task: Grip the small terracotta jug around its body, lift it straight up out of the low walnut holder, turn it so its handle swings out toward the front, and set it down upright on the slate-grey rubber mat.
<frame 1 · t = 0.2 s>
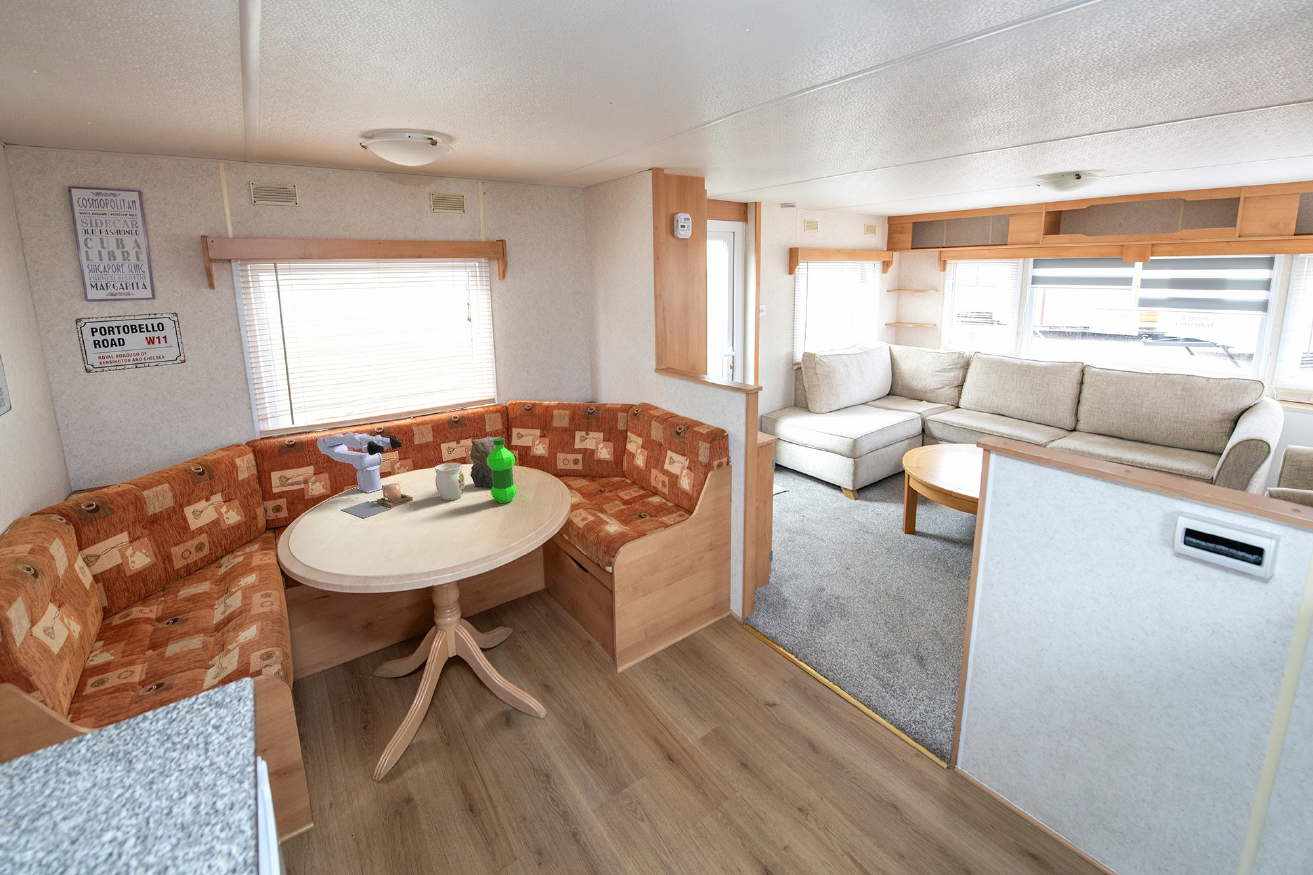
hand: (392, 447, 244), 21 cm above the table, tool horizontal, fingers open, 7 cm apart
plastic bottle: (504, 501, 242), on the table
holder: (395, 501, 244), on the table
mat: (366, 509, 236), on the table
owl: (491, 485, 261), on the table
pitcher: (452, 497, 248), on the table
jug: (395, 502, 244), resting in holder
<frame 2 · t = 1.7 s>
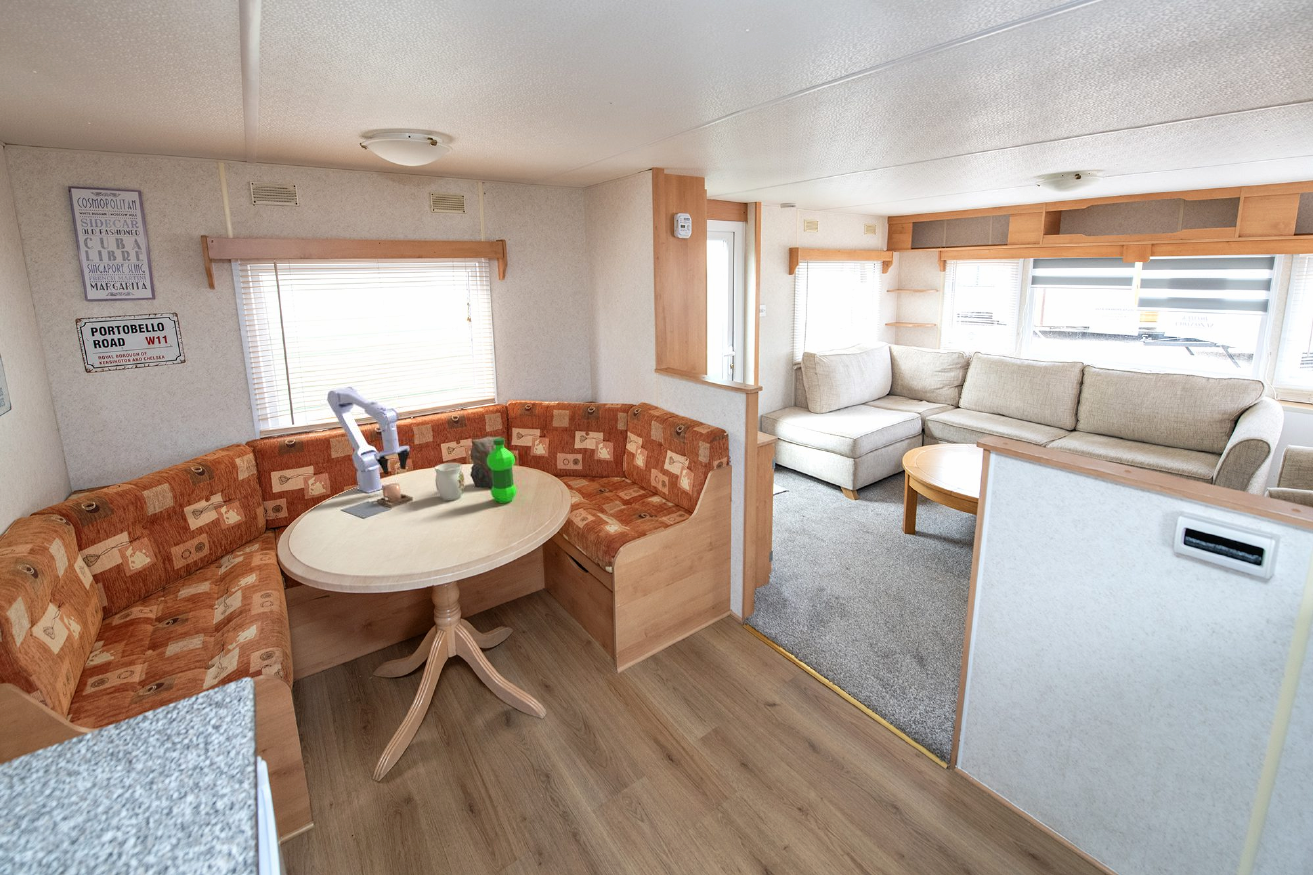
hand: (394, 471, 252), 9 cm above the table, tool pointing down, fingers open, 7 cm apart
nothing on the table moved.
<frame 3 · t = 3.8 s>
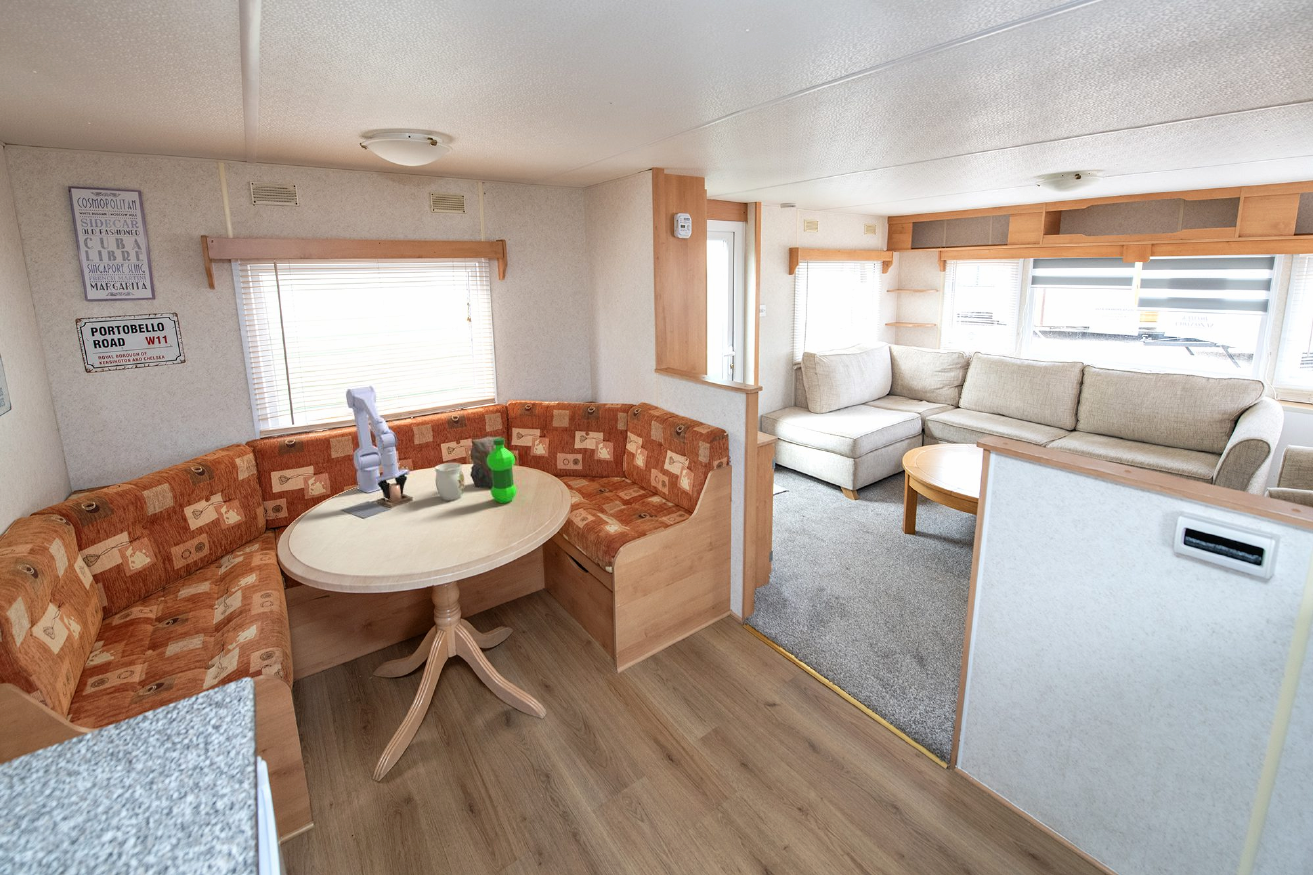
hand: (394, 496, 243), 2 cm above the table, tool pointing down, fingers closed on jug, 5 cm apart
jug: (395, 501, 244), resting in holder, touching gripper
everything else where it was.
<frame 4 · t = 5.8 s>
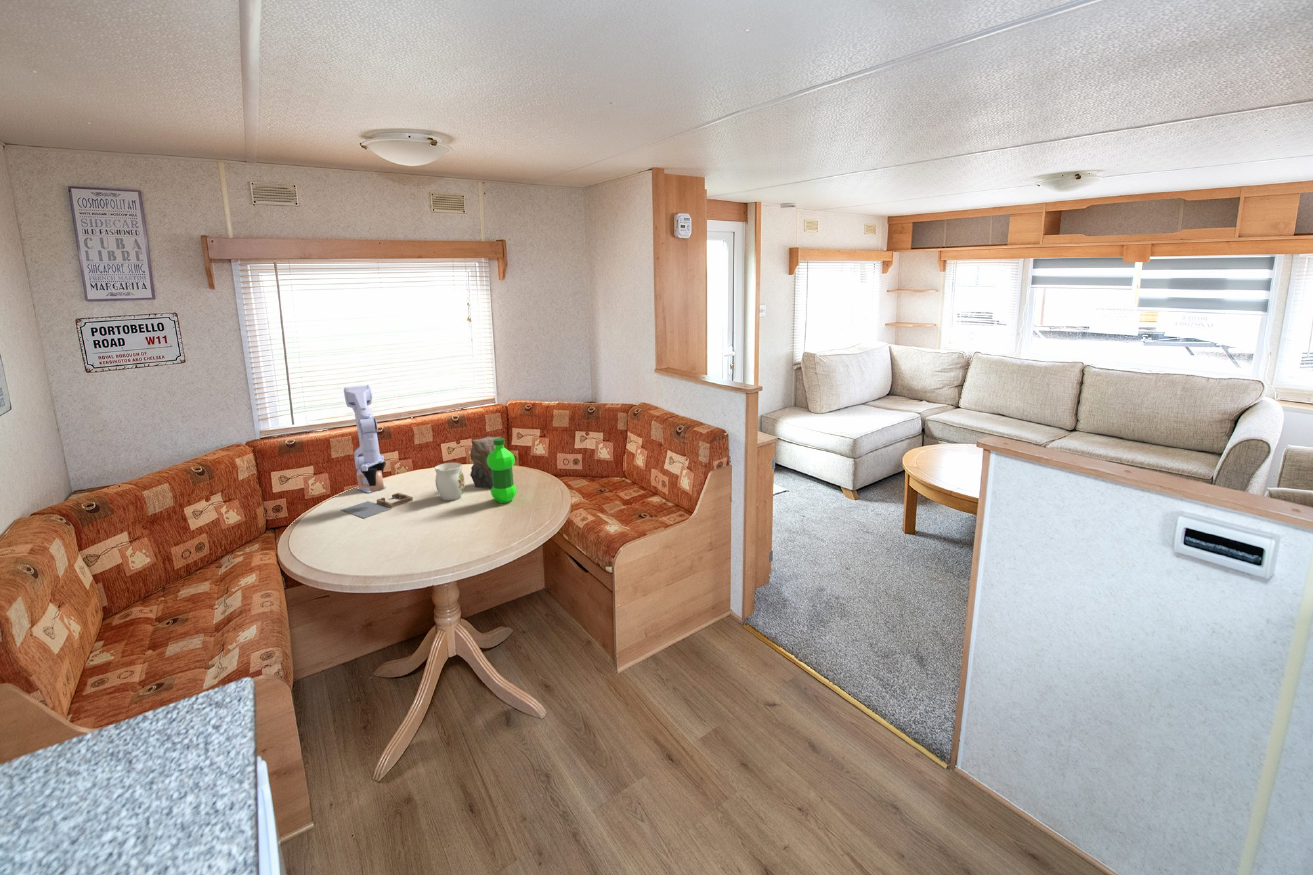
hand: (376, 483, 237), 9 cm above the table, tool pointing down, fingers closed on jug, 5 cm apart
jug: (377, 489, 238), point 7 cm above the table, touching gripper
everything else where it was.
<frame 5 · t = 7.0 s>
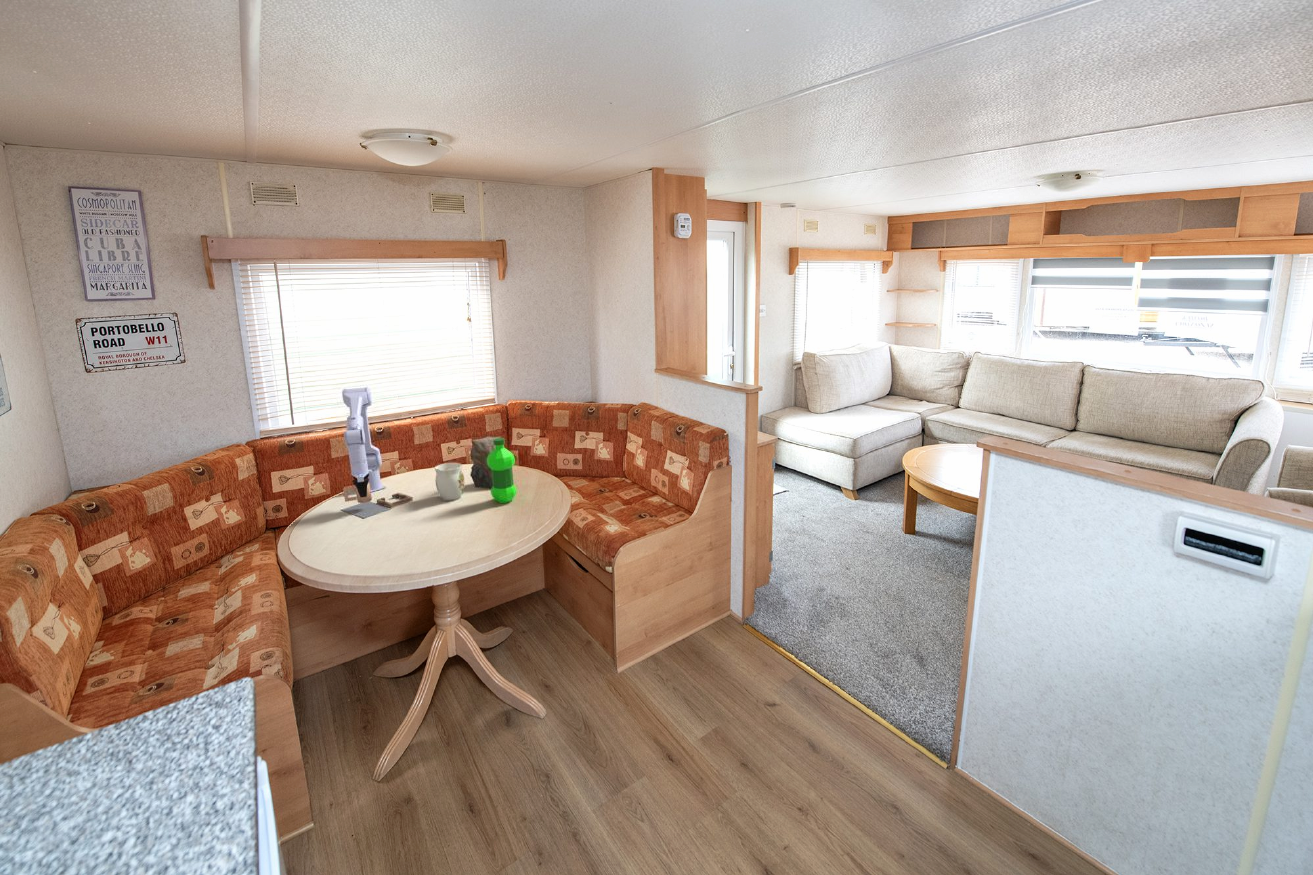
hand: (363, 494, 235), 6 cm above the table, tool pointing down, fingers closed on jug, 5 cm apart
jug: (364, 500, 235), point 4 cm above the table, touching gripper
everything else where it was.
when the fingers open (4 cm above the table, at t = 8.0 s): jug stays where it is, resting on mat.
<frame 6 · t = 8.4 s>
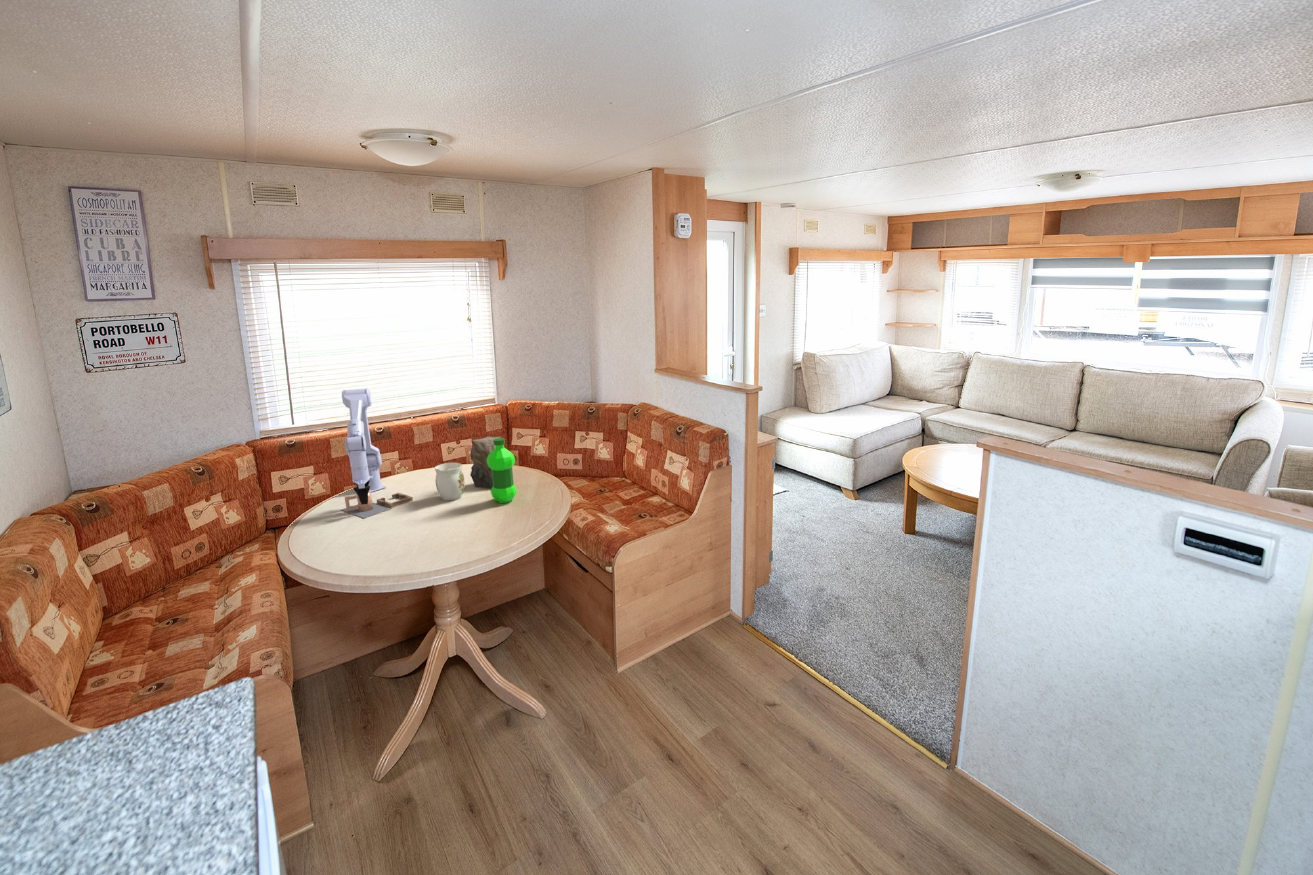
hand: (364, 500, 235), 4 cm above the table, tool pointing down, fingers open, 7 cm apart
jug: (366, 509, 236), resting on mat
everything else where it was.
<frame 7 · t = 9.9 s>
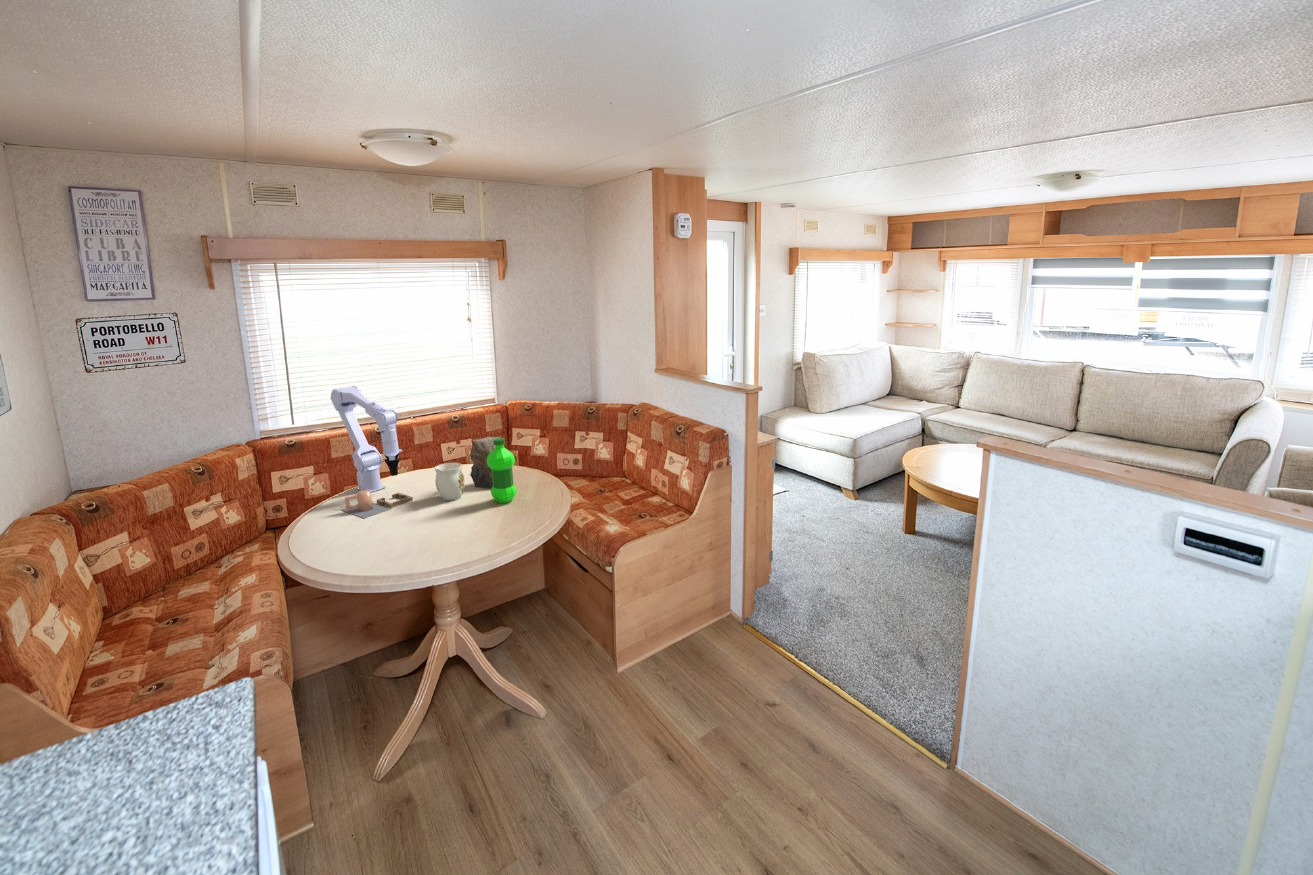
hand: (394, 472, 250), 9 cm above the table, tool pointing down, fingers open, 7 cm apart
nothing on the table moved.
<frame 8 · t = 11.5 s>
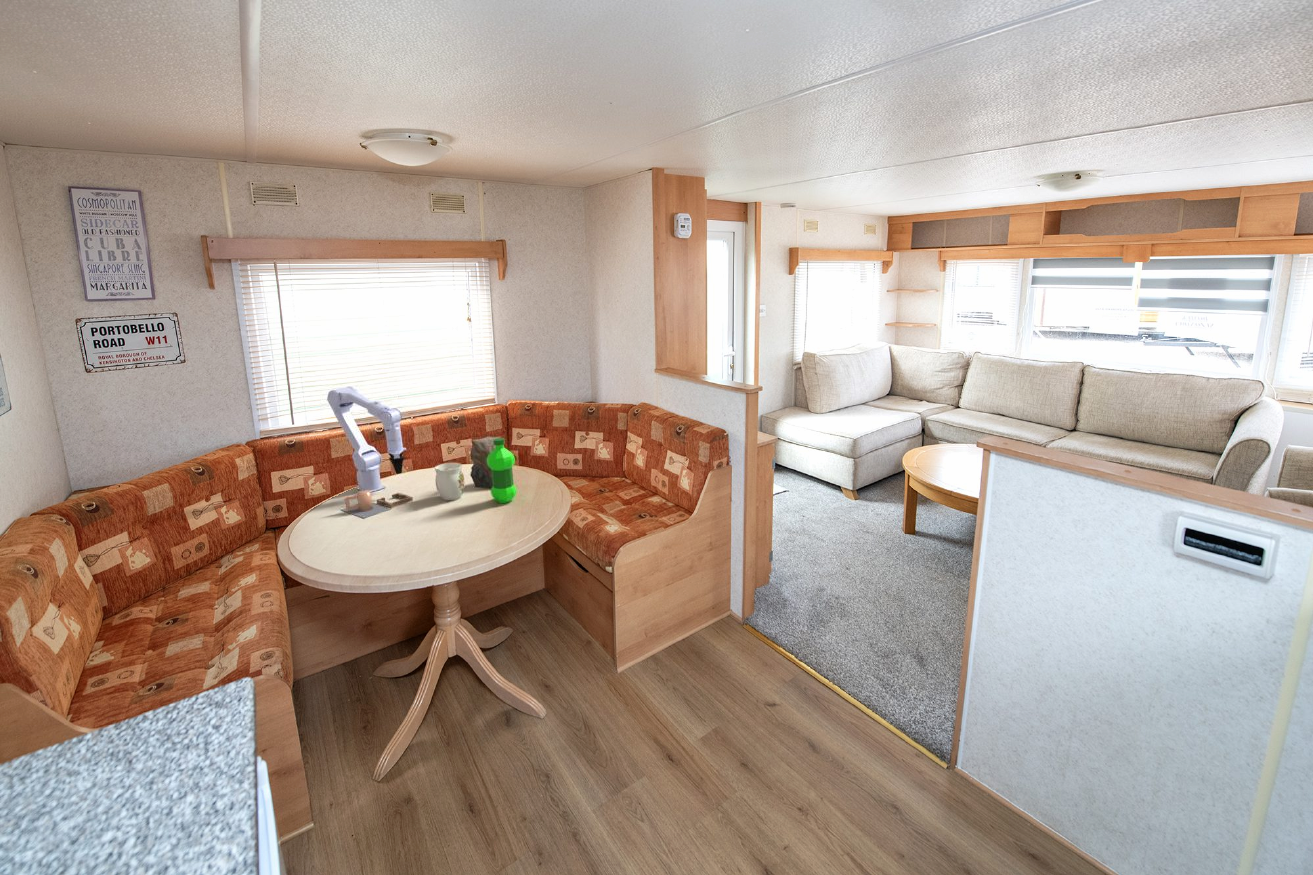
hand: (398, 470, 252), 9 cm above the table, tool pointing down, fingers open, 7 cm apart
nothing on the table moved.
at the end: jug inside the target area on the mat (0.1 cm from its centre), point 0.2 cm above the mat's base; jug tilted 0°; the gripper is holding nothing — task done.
